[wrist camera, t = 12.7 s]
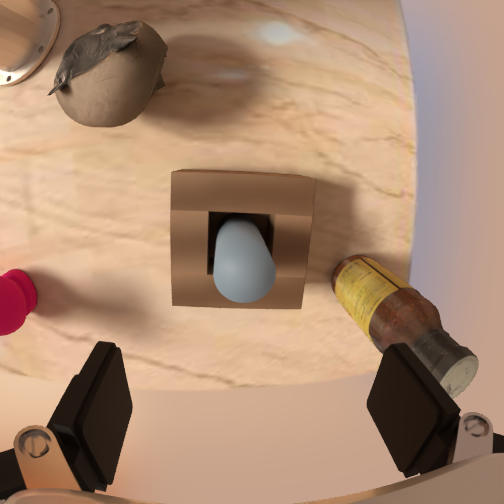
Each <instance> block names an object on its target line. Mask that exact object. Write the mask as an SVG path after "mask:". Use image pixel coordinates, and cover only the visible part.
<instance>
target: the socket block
mask: <svg viewBox="0 0 504 504" xmlns="http://www.w3.org/2000/svg"><path fill="white" fill-rule="evenodd" d="M315 184H316V179H312V178H308V177H305V176H301V175H290V174H277V173H262V172H245V171H224V170H191V169H181V170H177V171H173V172H171V215H170V238H171V284H172V306H190V307H213V308H246V309H301V307H302V300H303V292H304V285H305V277H306V269H307V261H308V252H309V244H310V235H311V225H312V216H313V206H314V195H315ZM232 212H238V213H245V214H247V215H249V216H250V217H251V218H252V219H253V220H254V221H255V223H256V225H257V228H258V230H259V232H260V234H261V236H262V238H263V240H264V243H265V245H266V247H267V249H268V251H269V253H270V255H271V257H272V260H273V262H274V264H275V268H276V278H275V282H274V284H273V286H272V288H271V290H270V291H269V292H268V293H267V294H266V295H265V296H264V297H262V298H261V299H259V300H256V301H254V302H249V303H239V302H234V301H231V300H229V299H228V298H226V297H225V296H223V295H222V294H221V293H220V292H219V290H218V289H217V287H216V285H215V282H214V276H213V273H214V261H215V250H216V239H217V229H218V225H219V223H220V221H221V220H222V218H223V217H225V216H226V215H227V214H229V213H232Z"/></svg>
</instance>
